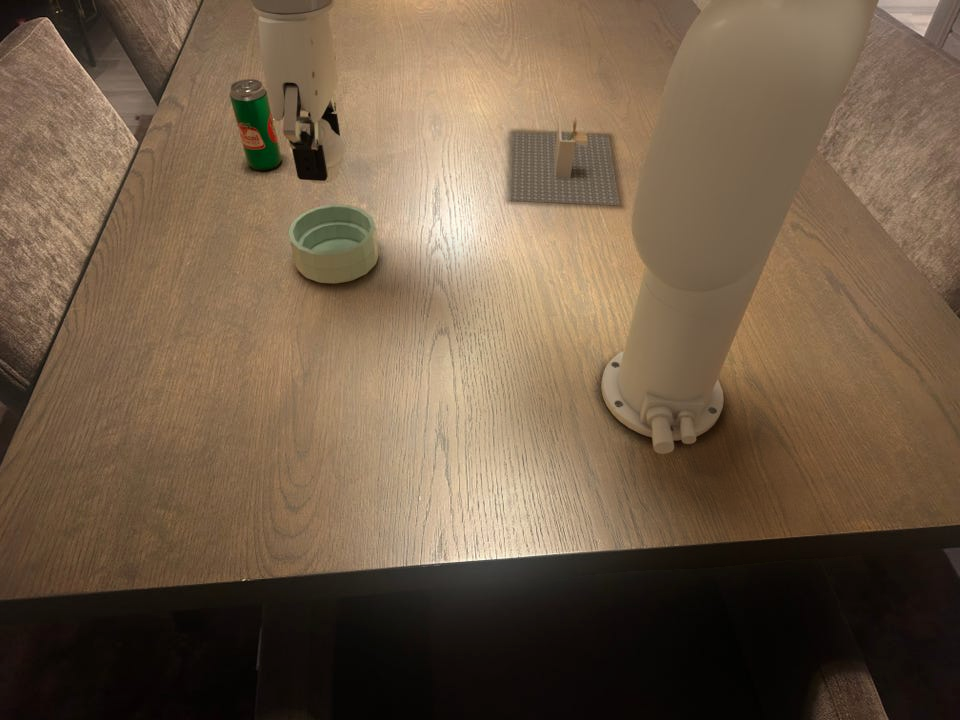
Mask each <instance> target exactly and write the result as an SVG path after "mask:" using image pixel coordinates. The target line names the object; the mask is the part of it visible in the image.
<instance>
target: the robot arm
mask: <svg viewBox="0 0 960 720" xmlns="http://www.w3.org/2000/svg"><path fill="white" fill-rule="evenodd" d="M879 2H880V0H709V2H708V3H707V4H706V6H704V8H703V9H701V11H700V12H699V14H698V15H697V16H696V18H695V19H694V20H693V22H692V23H691V25H690V27H689V28H688V29H687V32H686V33H685V35H684V37H683V39H682V41H681V42H680V45H679V48H678V50H677V52H676V54H675V56H674V58H673V61H672V64H671V66H670V69H669V72H668V75H667V79H666V82H665V86H664V88H663V91H662V95H661V99H660V103H659V106H658V111H657V113H656V117H655V121H654V124H653V129H652V131H651V135H650V138H649V143H648V147H647V149H646V154H645V157H644V160H643V164H642V169H641V171H640V176H639V179H638V183H637V186H636V191H635V194H634V198H633V203H632V209H631V217H630V227H631V235H632V241H633V244H634V247H635V250H636V252H637V254H638V257H639V258H640V260H641V262H642V263H643V264H644V266H645V267H644V270H643V274H642V278H641V281H640V285H639V290H638V293H637V297H636V302H635V305H634V309H633V314H632V317H631V320H630V321H631V322H630V326H629V330H628V334H627V338H626V342H625V346H624V350H623V351H622V350H621V351H620V352H618V353H617V354H616V355H614V356H613V357H612V358H611V359H610V360H609V361H608V363H607V364H606V366H605V367H604V370H603V374H602V378H601V384H600V385H601V386H600V389H601V394H602V398H603V401H604V403H605V405H606V407H607V408H608V410H609V411H610V413H611V414H612V415H613V416H614V418H616V419H617V420H618V421H619V422H620V423H621V424H623V425H624V426H626V427H627V428H628V429H630V430H631V431H634V432H636V433H638V434H640V435H643V436H645V437H648V438H651V440H652V449H653V451H654V452H655V453H657V454H661V455H666V454H667V455H668V454H670V453H672V452H673V451H674V450H675V441H681V442H682V443H683V444H684V445H685V444H686V445H691V444H694V443H696V441H697V437H699V436H701V435H703V434H704V433H706V432H708V431H709V430H710V429H711V428H712V427H714V425H715V424H716V422H717V421H718V419H719V418H720V415H721V414H722V410H723V406H724V403H725V399H724V391H723V388H722V385H721V382H720V381H719V376H720V374H721V371H722V369H723V367H724V364H725V362H726V359H727V357H728V355H729V352H730V350H731V348H732V345H733V342H734V340H735V338H736V335H737V333H738V331H739V328H740V325H741V323H742V321H743V319H744V316H745V313H746V311H747V308H748V306H749V304H750V302H751V300H752V297H753V295H754V294H755V290H756V288H757V285H758V283H759V281H760V279H761V276H762V275H763V274H762V273H763V271H764V269H765V266H766V264H767V262H768V259H769V256H770V254H771V252H772V250H773V247H774V246H775V243H776V240H777V238H778V235H779V233H780V231H781V229H782V226H783V224H784V222H785V219H786V217H787V215H788V213H789V210H790V208H791V206H792V204H793V202H794V199H795V197H796V195H797V193H798V190H799V188H800V185H801V183H802V180H803V178H804V176H805V174H806V171H807V169H808V168H809V165H810V163H811V161H812V159H813V157H814V155H815V153H816V151H817V149H818V147H819V145H820V143H821V141H822V139H823V137H824V135H825V132H826V131H827V128H828V126H829V124H830V121H831V119H832V117H833V115H834V114H835V112H836V109H837V107H838V104H839V103H840V101H841V99H842V96H843V94H844V92H845V91H846V88H847V85H848V84H849V82H850V79H851V77H852V76H853V73H854V70H855V69H856V67H857V64H858V62H859V61H860V58H861V55H862V52H863V50H864V47H865V45H866V42H867V38H868V35H869V31H870V27H871V24H872V21H873V17H874V16H875V12H876V9H877V7H878V4H879ZM251 5H252V6H251V7H252V10H253V12H254V13H255V14H257V15H258V18H257V19H258V21H257V22H258V36H259V38H258V39H259V46H260V47H259V48H260V55H261V63H262V69H263V76H264V82H265V87H266V88H265V89H266V90H267V94H268V99H269V105H270V110H271V114H272V117H273V120H274V121H276V122H279V121H282V120H283V128H282V131H283V136H284V137H285V138H286V139H287V140H288V142H289V148H290V147H291V149H292V152H293V157H294V160H293V161H294V166H295V171H296V177H297V179H299V180H302V181H310V180H317V181H325V180H326V179H327V177H328V175H327V169H326V163H325V157H324V151H323V145H319V135H318V120H319V119H320V118H322V119H324V120H326V121H327V122H328V123H329V124H330V126H331V129H332V130H333V131H334V132H335V133H336V134H338V135H339V136H340V137H341V130H340V124H339V117H338V113H336V112H337V102H336V98H335V95H334V94H335V91H336V89H337V86H338V66H337V58H336V51H335V44H334V39H333V38H334V37H333V32H332V27H331V22H330V17H329V13H328V12H330V11H331V10H332V9H333V8H334V5H335V3H334V0H251ZM301 112H306V113H307V116H304V115H303V116H302V115H301ZM300 123H303V124H310V135H309V134H308V133H307V132H306V131H302V129H301V127H300Z"/></svg>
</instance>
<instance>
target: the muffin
mask: <svg viewBox="0 0 960 720" xmlns="http://www.w3.org/2000/svg"><path fill="white" fill-rule="evenodd" d="M300 127H301V129H302V131H306V132H307V133H308V134H309V135H310V124H303V123H300ZM318 135H319V145H323V151H324V157H325V163H326V169H327V175H328V177H327V179H326V180H325V181H317V180H309V181H310V182H311V183H314V184H319V185H320V184H322V185H323V184H328V183H332V182H333V181H334V180H335V179H336V178H337V176H338V175H339V172H340V169H341V167H342V165H343V163H344V160H345V154H346V151H347V145H346V142H345V141H344V139H343V137H342V136H341V135H340V136H339V135H338V134H336V133H335V132H334V131H333V130H332V129H331V126H330V124H329V123H328V122H327V121H326V120H324V119H322V118H320V119H319V120H318ZM288 151H289V155H290V157H291V158H292V160H293V161H294V157H293V152H292V149H291V147H290V146H289V150H288Z"/></svg>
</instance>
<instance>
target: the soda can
mask: <svg viewBox="0 0 960 720" xmlns="http://www.w3.org/2000/svg"><path fill="white" fill-rule="evenodd" d="M229 99H230V103H231V106H232V110H233V113H234V118H235V122H236V125H237V129H238V132H239V138H240V142H241V144H242V147H243V153H244V156H245V160H246V162H247V165H248V166H249V167H250V168H252V169H254V170H256V171H270V170H273V169H275V168H277V167H278V166H279V165H280V164H281V162H282V159H283V158H282V154H281V148H280V145H279V140H278V136H277V130H276V125H275V122H274V121H275V120H274V118H273V117H272V114H271V110H270V105H269V99H268V93H267V88H265V87H264V85H263V82H262V81H261V80H258V79H254V78H253V79H252V78H246V79H240V80H237V81H235V82H233V83H231V85H230V92H229Z"/></svg>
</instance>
